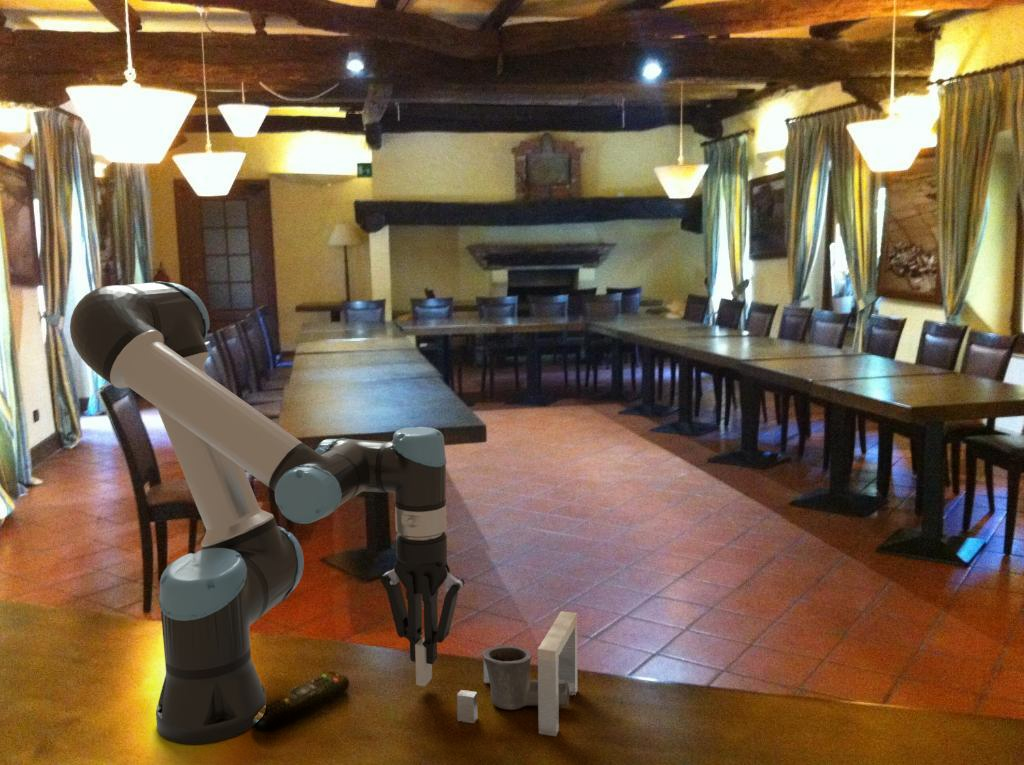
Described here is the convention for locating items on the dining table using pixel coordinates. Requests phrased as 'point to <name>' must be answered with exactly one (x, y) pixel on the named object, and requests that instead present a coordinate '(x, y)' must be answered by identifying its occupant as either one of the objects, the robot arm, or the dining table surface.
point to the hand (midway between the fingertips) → (424, 681)
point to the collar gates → (541, 675)
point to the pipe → (515, 678)
